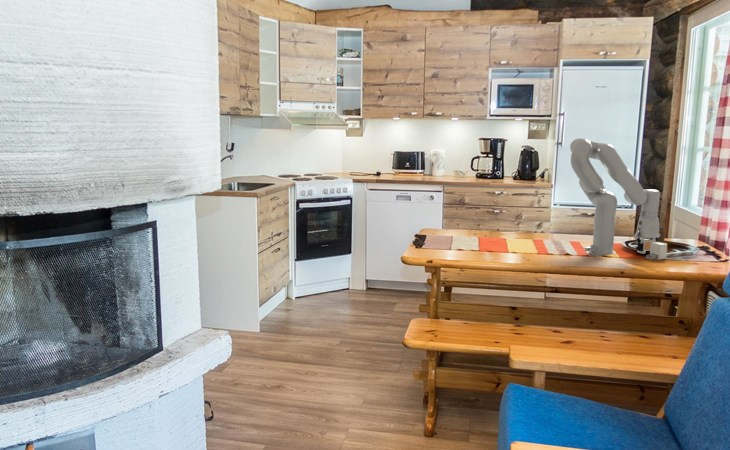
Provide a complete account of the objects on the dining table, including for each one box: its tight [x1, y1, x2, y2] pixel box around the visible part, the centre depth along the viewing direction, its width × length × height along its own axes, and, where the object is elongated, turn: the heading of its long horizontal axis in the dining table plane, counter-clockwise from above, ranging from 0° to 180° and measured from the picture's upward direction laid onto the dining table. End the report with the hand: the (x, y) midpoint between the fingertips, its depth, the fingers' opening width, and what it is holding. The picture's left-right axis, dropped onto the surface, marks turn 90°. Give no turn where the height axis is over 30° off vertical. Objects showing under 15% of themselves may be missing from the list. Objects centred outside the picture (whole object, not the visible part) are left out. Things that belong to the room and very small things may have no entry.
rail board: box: [642, 250, 696, 261], centre depth 274 cm, size 26×7×3 cm, turn 107°
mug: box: [644, 227, 666, 244], centre depth 302 cm, size 12×8×9 cm, turn 83°
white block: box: [649, 242, 668, 260], centre depth 271 cm, size 5×6×7 cm
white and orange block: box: [636, 239, 654, 255], centre depth 283 cm, size 5×6×7 cm
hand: (645, 250), depth 283 cm, fingers closed on white and orange block, 6 cm apart
